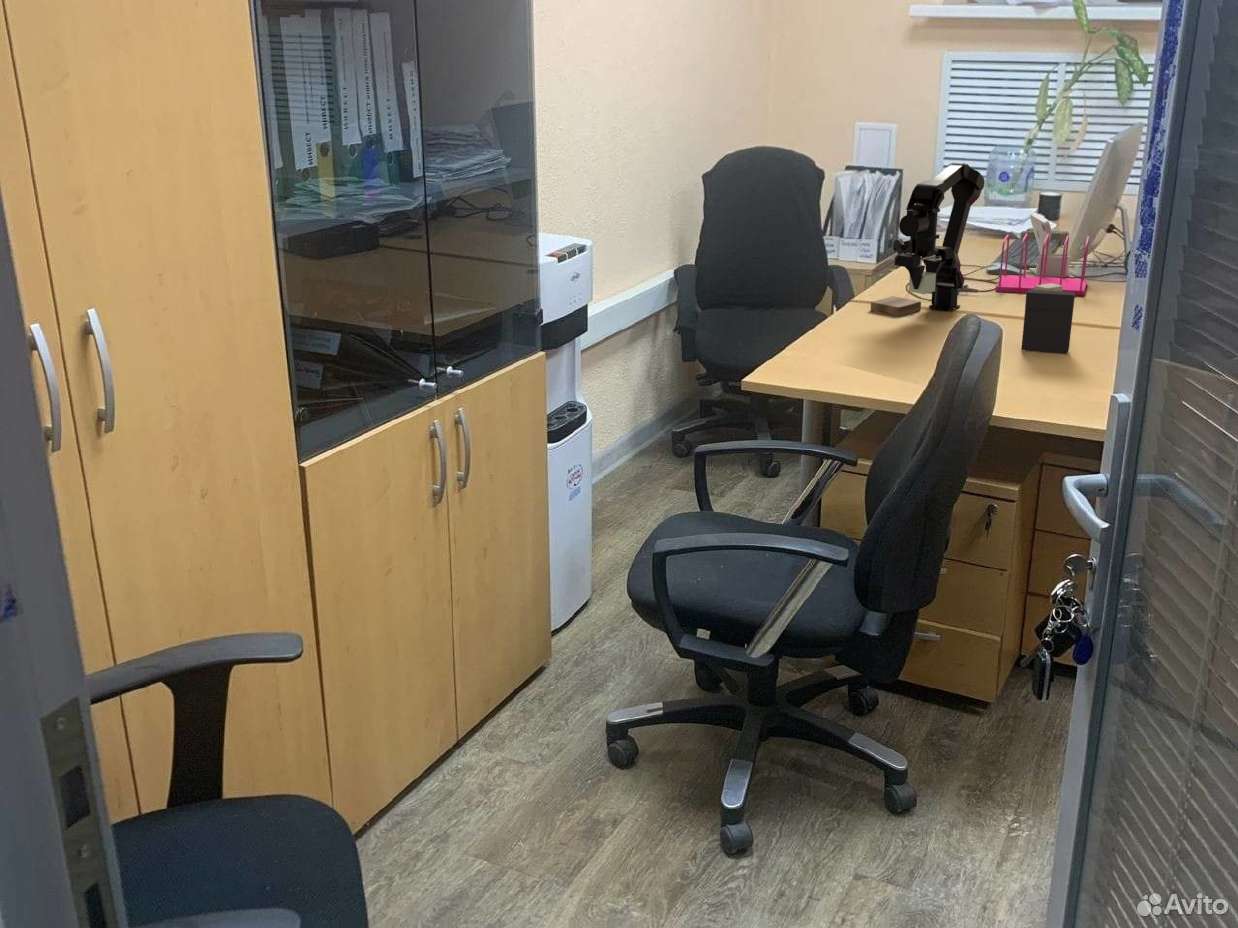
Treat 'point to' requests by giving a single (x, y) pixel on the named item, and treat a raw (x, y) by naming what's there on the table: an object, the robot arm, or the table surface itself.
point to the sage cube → (924, 283)
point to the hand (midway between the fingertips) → (922, 287)
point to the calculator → (1048, 321)
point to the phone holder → (1053, 260)
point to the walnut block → (895, 306)
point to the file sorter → (1028, 282)
